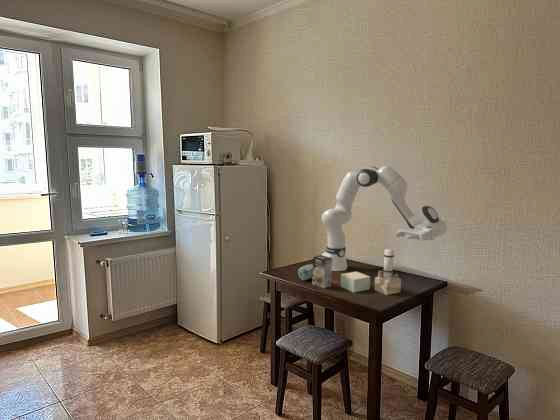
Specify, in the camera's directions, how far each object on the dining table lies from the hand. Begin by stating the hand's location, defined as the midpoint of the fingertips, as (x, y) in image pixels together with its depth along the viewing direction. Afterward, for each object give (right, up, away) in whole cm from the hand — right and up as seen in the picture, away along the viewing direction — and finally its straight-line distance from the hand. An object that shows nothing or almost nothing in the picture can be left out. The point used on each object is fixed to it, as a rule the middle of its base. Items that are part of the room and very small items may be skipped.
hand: (402, 236), depth 207 cm
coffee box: (-42, -28, +7) cm, 51 cm away
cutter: (-31, -28, +7) cm, 42 cm away
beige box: (-25, -28, +4) cm, 38 cm away
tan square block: (-8, -29, -1) cm, 30 cm away
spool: (-49, -26, +20) cm, 59 cm away
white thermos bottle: (-8, -22, -1) cm, 23 cm away
